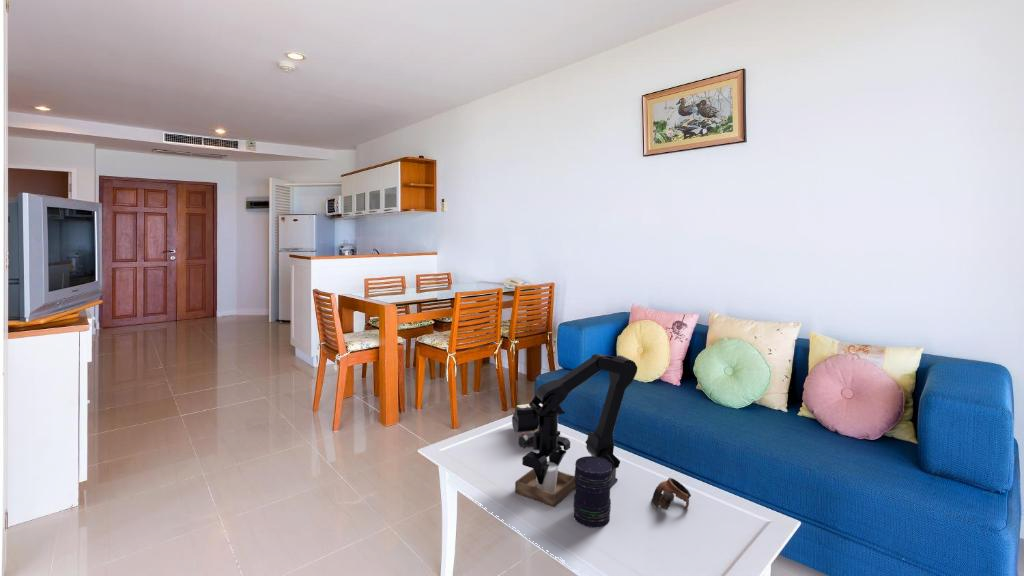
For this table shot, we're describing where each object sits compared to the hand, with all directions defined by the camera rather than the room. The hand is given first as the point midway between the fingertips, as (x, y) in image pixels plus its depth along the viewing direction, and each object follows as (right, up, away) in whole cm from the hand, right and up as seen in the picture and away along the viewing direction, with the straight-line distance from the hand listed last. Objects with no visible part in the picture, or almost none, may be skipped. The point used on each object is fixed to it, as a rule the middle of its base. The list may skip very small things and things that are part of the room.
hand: (546, 479), depth 147 cm
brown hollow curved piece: (+34, -5, -7) cm, 35 cm away
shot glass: (0, -3, 0) cm, 3 cm away
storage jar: (+11, -5, -13) cm, 18 cm away
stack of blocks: (-2, 0, +39) cm, 39 cm away
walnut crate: (0, -3, 0) cm, 4 cm away
